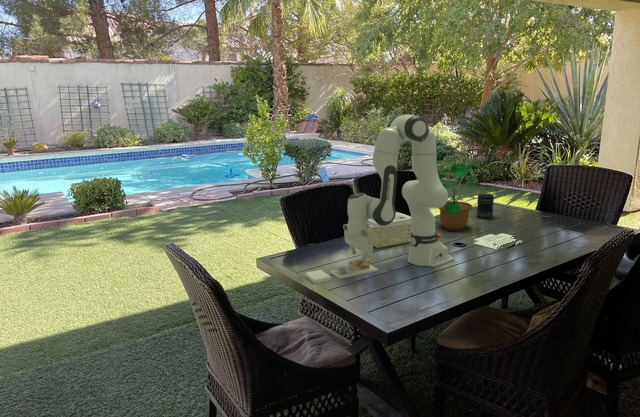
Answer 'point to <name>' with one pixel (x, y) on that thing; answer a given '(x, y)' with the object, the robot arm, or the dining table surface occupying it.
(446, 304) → the dining table surface
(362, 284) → the dining table surface
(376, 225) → the storage basket
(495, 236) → the paper stack
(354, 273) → the tool rest
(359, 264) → the wooden handled scraper
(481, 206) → the storage jar
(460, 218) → the potted plant
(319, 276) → the tile
